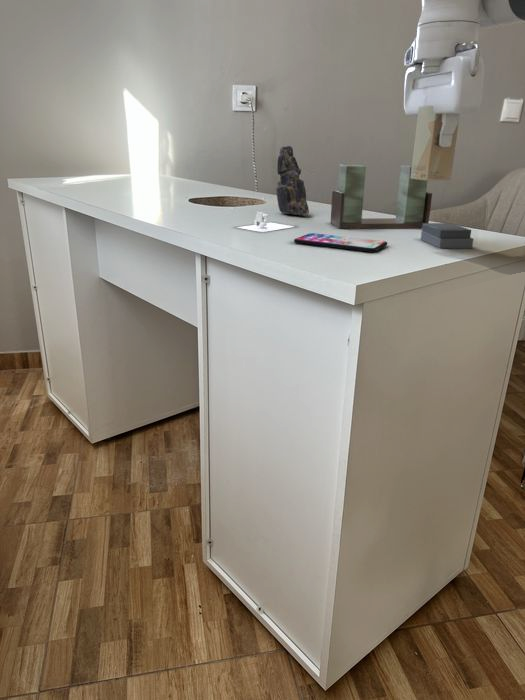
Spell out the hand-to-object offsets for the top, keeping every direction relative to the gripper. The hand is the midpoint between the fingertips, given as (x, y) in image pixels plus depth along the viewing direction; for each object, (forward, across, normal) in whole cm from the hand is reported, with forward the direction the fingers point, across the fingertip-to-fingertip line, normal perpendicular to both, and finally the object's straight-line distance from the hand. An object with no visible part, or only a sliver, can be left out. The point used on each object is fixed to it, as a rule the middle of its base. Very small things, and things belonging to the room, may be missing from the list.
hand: (434, 146), depth 89 cm
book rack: (+16, +24, 0) cm, 29 cm away
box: (+5, 0, 0) cm, 5 cm away
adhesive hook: (+16, +23, +24) cm, 37 cm away
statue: (+16, +41, +14) cm, 47 cm away
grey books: (+16, +4, -6) cm, 18 cm away
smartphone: (+16, +4, +14) cm, 22 cm away
